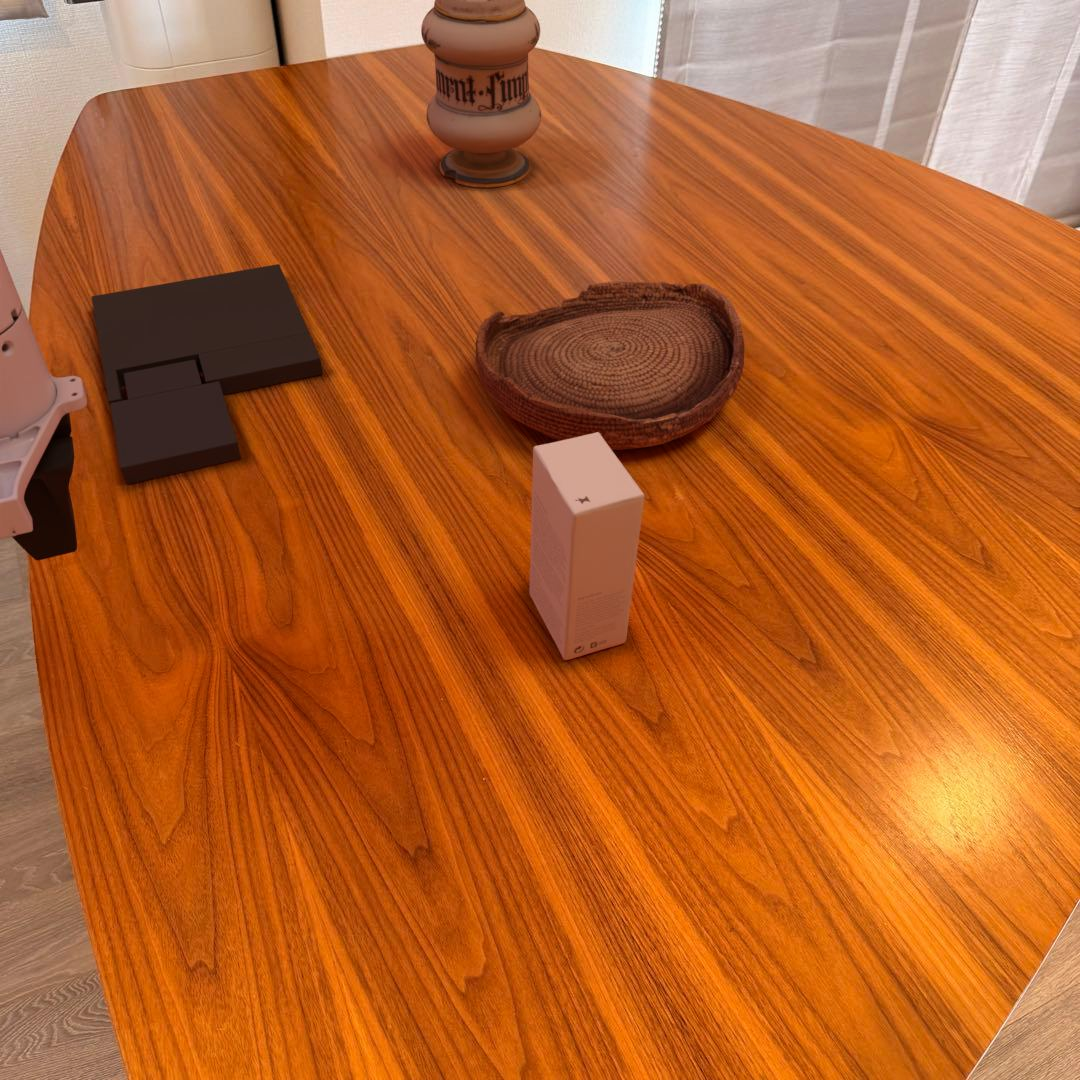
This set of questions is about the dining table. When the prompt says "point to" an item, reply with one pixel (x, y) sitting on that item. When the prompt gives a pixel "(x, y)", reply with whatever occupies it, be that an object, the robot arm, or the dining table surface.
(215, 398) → the small pad
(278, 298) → the big pad
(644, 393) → the basket
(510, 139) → the apothecary jar
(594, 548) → the cosmetic box
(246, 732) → the dining table surface
